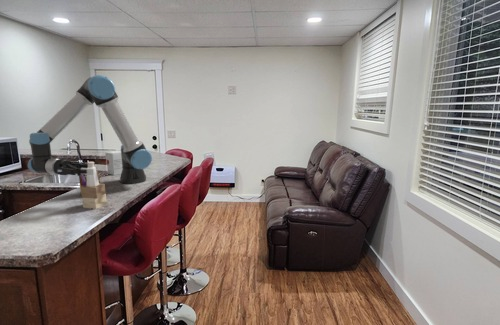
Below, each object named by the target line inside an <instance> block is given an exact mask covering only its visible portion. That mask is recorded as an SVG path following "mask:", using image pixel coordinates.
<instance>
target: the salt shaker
mask: <svg viewBox="0 0 500 325" xmlns="http://www.w3.org/2000/svg"><path fill="white" fill-rule="evenodd" d="M86 163H87V164H88V167H87V168H90V169H94V173H95V175H87V187H95V186H98V185H99V182H98V177H97V172H96V167H94V163H95V162H94V161H88V162H86Z"/></svg>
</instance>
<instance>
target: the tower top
mask: <svg viewBox="0 0 500 325" xmlns="http://www.w3.org/2000/svg"><path fill="white" fill-rule="evenodd" d="M81 192H82V195H81V199H82V198H98V197H100V196H102V195H104V194H106V185H105V183H101V182H100V183H99V185H98V186H95V187H87V185H85V186H83V187H81V190H80V193H81ZM106 195H107V194H106Z"/></svg>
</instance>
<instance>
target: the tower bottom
mask: <svg viewBox="0 0 500 325" xmlns="http://www.w3.org/2000/svg"><path fill="white" fill-rule="evenodd" d="M81 199H82V201H81V203H82V208H83V209H84V208H85V209H91V208H93V209H94V210H96V209H99V208H102V207H104V206H106V205H108V203H107V194H104V195H102V196H100V197H98V198H82V197H81Z"/></svg>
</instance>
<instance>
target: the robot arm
mask: <svg viewBox="0 0 500 325" xmlns="http://www.w3.org/2000/svg"><path fill="white" fill-rule="evenodd" d="M118 99H119V95H118V94H117V92H116V87H115V83H114V82H113V81H112V80H111V79H110V77H107V76H105V75H100V74H97V75H94V76H90V77H89V78H87V79H86V80H85V81H84V83H83V84H82V85H81V86H80V87H79V88H78V89H77V90H76V91H75V95H74V96H73V97H72V98H71V99H70V100H69V101H68V102H67V103H66V104H65V105H64V106H63V107H62V108H61V109H60V110H58V111H57V112H56V113H55V114H54V115H53V116H52V117H51V118H50V119H49V120H48V121H47V122H46V123H45V124H44V125H43V126H42V127H40V129H39V130H38V131H37V132H32V133H30V134H29V140H28V141H29V142H28V143H29V145H30V148H31V149H30V150H31V158H30V159H29V160H28V162H27V168H28V170H29V171H30V172H33V173H37V174H44V175H45V174H48V175H54V176H57V175H58V176H68V175H71V176H76V175H77V177H79V176H81V175H80V173H81V174H86V175H95V173H94V169H90V168H87V167H88V164H87V163H88V162H81V161H80V162H79V163H77V162H71V160H70V159H67V158H66V159H64V158H53V157H52V150H51V149H52V148H51V143H52V142H53V141H54V140H55V139H56V138H57V137H58V136H59V135H60V134H61V133H62V132H63V131H64V130H65V129H66V128H67V127H68V126H69V125H70V124H71V123H72V122H73V121H74V120H75V119H76V118H77V117H79V115H80V114H81V113H82V112H83V111H84V110H85V109H86V108H87V107H89V106H92V105H93V104H94V103H95V106H96V107H99V108H101V110H102V111H103V113H104V115H105V117H106V118H107V120H108V122H109V124H110V126H111V127H112V129H113V131H114V133H115V135H116V136H117V137H118V140H119V141H120V144H121V146H120V151H121V157H122V173H121V174H120V177H119V182H120V183H122V184H131V185H132V184H139V183H143V182H146V181H147V176H146V173H145V171H144V169H146V168H148V167H149V166H150V165H151V164H152V162H153V161H152V160H153V156H152V153H151V152H150V151H149V150H148V149H147V148H146V146H145V145H144V142H143V141H140V140H139V139H138V137H137V135H136V133H135V132H134V130H133V128H132V126H131V124H130V122H129V121H128V119H127V116H126V115H125V113H124V111H123V110H122V108H121V106H120V104H119V100H118ZM94 167H96V170H97V171H99V172H100V171H101V172H107V171H108V169H107V165H106V164H99V163H98V162H94Z"/></svg>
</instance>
